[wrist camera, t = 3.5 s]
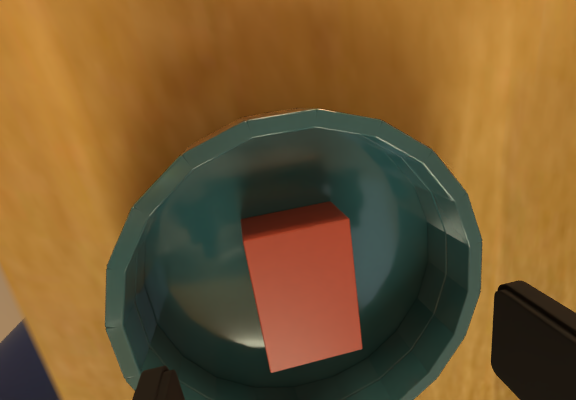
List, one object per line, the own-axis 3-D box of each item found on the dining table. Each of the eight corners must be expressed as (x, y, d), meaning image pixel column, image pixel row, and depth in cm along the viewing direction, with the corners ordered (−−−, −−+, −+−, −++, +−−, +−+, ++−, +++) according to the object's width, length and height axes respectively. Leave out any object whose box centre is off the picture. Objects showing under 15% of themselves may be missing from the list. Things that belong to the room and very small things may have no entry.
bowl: (179, 416, 17) (167, 492, 13) (87, 141, 13) (37, 154, 9) (433, 348, 18) (478, 401, 15) (428, 85, 14) (488, 79, 11)
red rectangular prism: (344, 315, 16) (363, 349, 14) (264, 335, 16) (270, 373, 13) (330, 200, 14) (350, 218, 12) (240, 218, 14) (242, 240, 12)
